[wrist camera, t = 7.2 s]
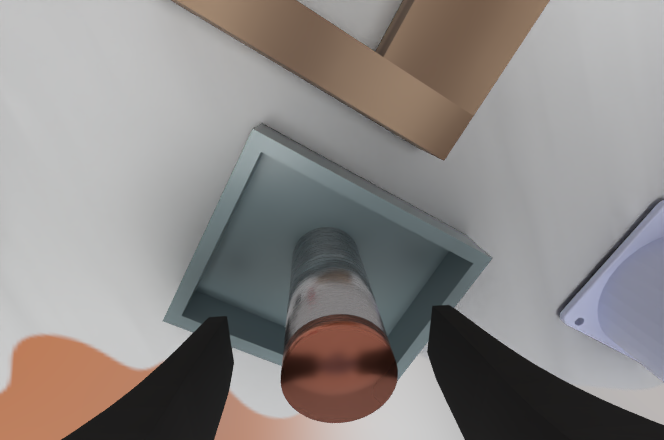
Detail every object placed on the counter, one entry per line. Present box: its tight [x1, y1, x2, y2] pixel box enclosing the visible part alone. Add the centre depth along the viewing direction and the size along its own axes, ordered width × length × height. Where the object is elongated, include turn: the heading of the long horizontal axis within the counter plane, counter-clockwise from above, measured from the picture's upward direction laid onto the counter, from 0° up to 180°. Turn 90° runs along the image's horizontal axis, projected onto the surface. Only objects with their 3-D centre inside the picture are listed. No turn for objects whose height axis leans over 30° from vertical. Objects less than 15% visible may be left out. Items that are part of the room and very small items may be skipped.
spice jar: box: [281, 227, 398, 423], centre depth 13 cm, size 3×3×8 cm
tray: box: [163, 123, 492, 381], centre depth 16 cm, size 11×9×2 cm
